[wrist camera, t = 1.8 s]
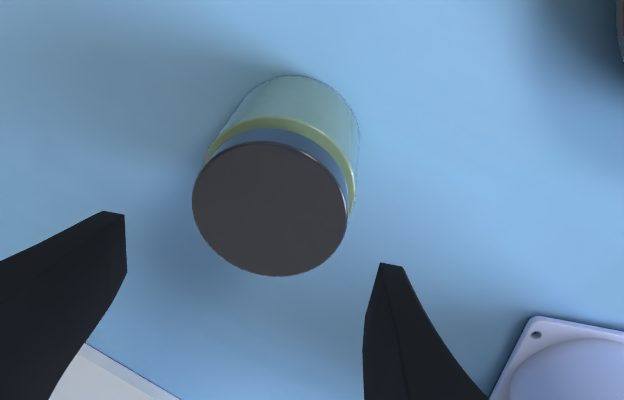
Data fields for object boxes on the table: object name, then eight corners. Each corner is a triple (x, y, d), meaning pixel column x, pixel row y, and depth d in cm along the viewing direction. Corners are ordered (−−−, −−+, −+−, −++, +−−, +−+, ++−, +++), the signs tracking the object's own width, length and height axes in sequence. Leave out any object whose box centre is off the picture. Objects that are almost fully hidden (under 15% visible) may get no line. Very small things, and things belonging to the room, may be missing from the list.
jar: (346, 203, 23) (337, 295, 18) (229, 181, 24) (183, 265, 18) (371, 88, 21) (369, 153, 15) (238, 64, 21) (186, 120, 15)
